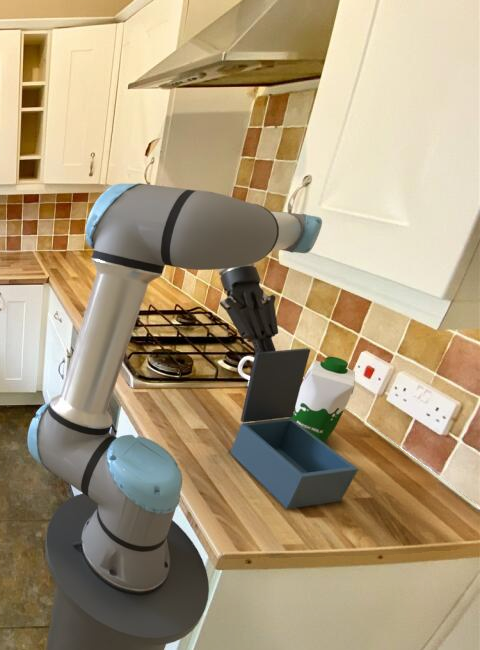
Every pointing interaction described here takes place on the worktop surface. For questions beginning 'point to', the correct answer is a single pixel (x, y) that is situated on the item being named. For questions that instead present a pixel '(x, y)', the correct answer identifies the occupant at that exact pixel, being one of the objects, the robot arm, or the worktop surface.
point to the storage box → (292, 463)
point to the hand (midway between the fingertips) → (271, 367)
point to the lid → (274, 384)
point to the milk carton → (324, 396)
